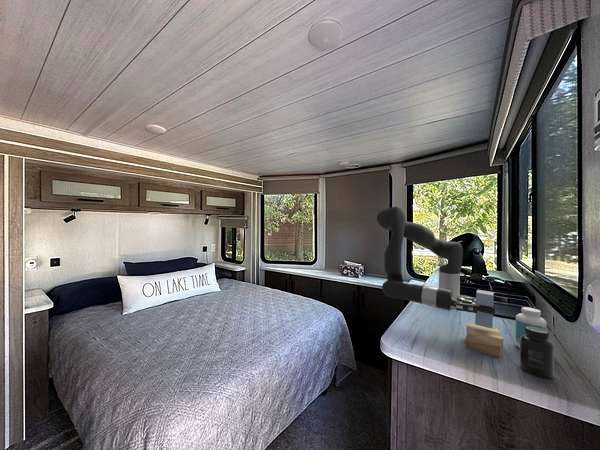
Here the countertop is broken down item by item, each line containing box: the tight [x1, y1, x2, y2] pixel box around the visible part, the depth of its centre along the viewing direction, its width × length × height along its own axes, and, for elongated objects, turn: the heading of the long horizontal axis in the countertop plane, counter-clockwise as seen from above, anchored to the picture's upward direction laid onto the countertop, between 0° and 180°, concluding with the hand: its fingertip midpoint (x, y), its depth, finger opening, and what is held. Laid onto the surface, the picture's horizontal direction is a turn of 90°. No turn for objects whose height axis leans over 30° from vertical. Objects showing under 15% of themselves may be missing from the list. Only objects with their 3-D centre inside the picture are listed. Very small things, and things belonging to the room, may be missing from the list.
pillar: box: [474, 289, 495, 329], centre depth 80 cm, size 4×4×11 cm
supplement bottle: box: [519, 326, 555, 379], centre depth 67 cm, size 7×7×12 cm
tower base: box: [464, 334, 501, 358], centre depth 80 cm, size 9×9×3 cm
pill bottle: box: [514, 306, 548, 349], centre depth 79 cm, size 8×7×14 cm
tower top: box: [465, 322, 504, 350], centre depth 80 cm, size 9×9×3 cm
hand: (494, 309), depth 78 cm, fingers closed on pillar, 4 cm apart
